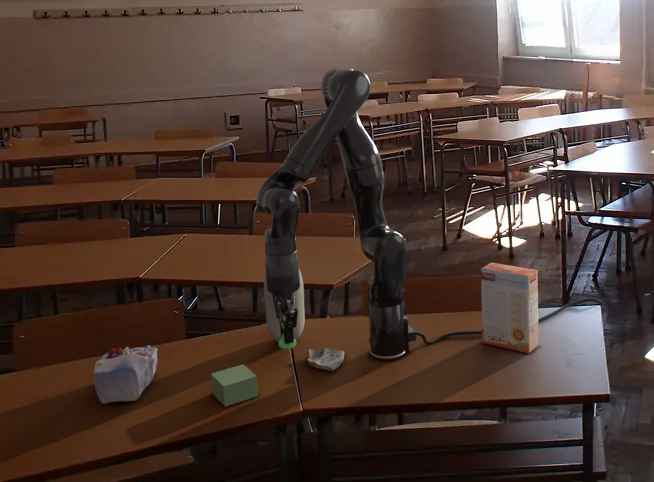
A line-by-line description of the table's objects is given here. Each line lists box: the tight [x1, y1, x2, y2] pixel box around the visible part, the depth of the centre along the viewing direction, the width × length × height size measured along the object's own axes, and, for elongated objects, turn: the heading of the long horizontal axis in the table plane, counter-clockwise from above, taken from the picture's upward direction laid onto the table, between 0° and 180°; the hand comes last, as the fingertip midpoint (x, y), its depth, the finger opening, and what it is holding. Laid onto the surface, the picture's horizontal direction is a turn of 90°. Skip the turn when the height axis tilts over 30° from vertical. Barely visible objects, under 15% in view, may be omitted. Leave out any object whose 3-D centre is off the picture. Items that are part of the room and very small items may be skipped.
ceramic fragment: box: [306, 347, 345, 372], centre depth 210 cm, size 11×3×10 cm
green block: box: [210, 364, 259, 408], centre depth 194 cm, size 8×8×5 cm
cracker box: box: [480, 262, 539, 354], centre depth 216 cm, size 14×6×21 cm, turn 58°
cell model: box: [93, 345, 159, 405], centre depth 198 cm, size 13×11×20 cm
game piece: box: [278, 324, 297, 350], centre depth 194 cm, size 4×4×6 cm
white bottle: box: [263, 268, 306, 343], centre depth 222 cm, size 10×10×28 cm
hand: (287, 340), depth 194 cm, fingers closed on game piece, 2 cm apart
